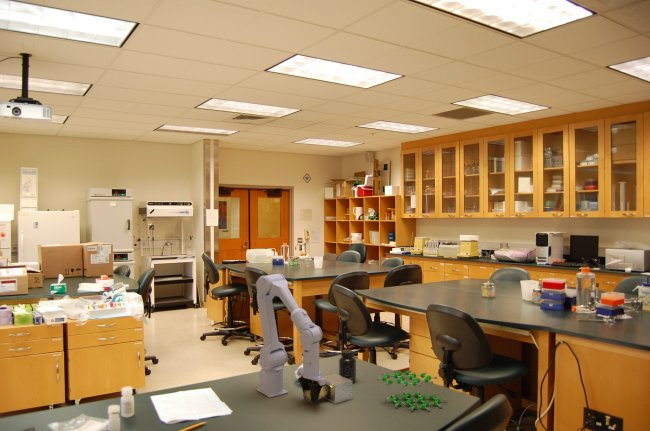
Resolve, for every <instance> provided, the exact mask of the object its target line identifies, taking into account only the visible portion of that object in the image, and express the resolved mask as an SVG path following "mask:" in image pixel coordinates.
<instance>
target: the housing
mask: <svg viewBox="0 0 650 431" xmlns="http://www.w3.org/2000/svg"><path fill="white" fill-rule="evenodd" d="M322 377H323V378H325V379H326V384H325V385H329V386H331V396H329V397H325V398H324V399H325V400H327V401H329V402H331V403H333V404H339V403H342V402H346V401H349V400H352V399H353V383H352V380H349V379H347V378H345V377H342V376H340V375H339V373H332V374H329V375H328V374H327V375H325V376H323V375H322ZM323 386H324V385H323Z"/></svg>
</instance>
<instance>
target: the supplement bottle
mask: <svg viewBox="0 0 650 431" xmlns="http://www.w3.org/2000/svg"><path fill="white" fill-rule="evenodd" d="M340 355H341V356H340V358H339V359H338V375H340V376H342V377H345V378H347V379H349V380H352V384H354V383H355V382H356V381H357V359H356V358H355V357H354V356H355V354H354V350H353V349H352V350H351V349H344V350H341V354H340Z"/></svg>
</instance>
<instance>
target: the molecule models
mask: <svg viewBox="0 0 650 431" xmlns="http://www.w3.org/2000/svg"><path fill="white" fill-rule="evenodd" d="M393 373H394V374H391V375H390V374H389V373H385V372H381V376H382V378H381V377H376V378H375V380H376V381H383V382H384V383H385V382H386V384H385V385H386V386H387V387H388V386H389V385H393V383H397V384H398V385H401V384H402V388H406V387H408V386H409V385H412V386H414V387H416V386H418V387H419V388H421V387H422V383H420V382H424V383H430V384H431V385H433V384H434V381H433V380H432V379H434V380H437V379H438V377H437V375H436V376H432V375H430V374H429V375H427V373H426V372H425V371H424V372H421V373H420V374H417V373H415V372H413V373H412V370H411V369H408V370H406V371H404V372H402V371H401V370H396V369H394V370H393ZM404 375H406V376H404ZM418 376H419V377H418ZM391 377H393V378H394V379H397V380H392V379H389V378H391ZM421 378H422V379H421ZM407 379H408V380H409V381H412V382H408V381H406V380H407ZM402 394H403V395H402V396H398V395H397V394H395V395H394V394H393V393H391V394H390V397H391V399H387V398H385V399H384V402H385V403H387V402H390V403H391V404H394V403H395V404H394V406H395V408H398V407H399V406H401V405H405V406H407V407H409V406H410V410H411V411H413V410H417V408H421V409H422V410H426V411H428V412H430V410H431V408H430V407H428V406H429V405H432V406H434V407H440V408H442V407H443V405H442V404H439V403H441V402H447V398H442V399H441V398H440V397H435V396H436V393H435V392H433V393H432V394H430V395H429V396H426V395H425V394H421V391H420V390H418V391H416V392H415V393H411V392H406V391H404V390H403V391H402ZM411 396H414V397H415V398H417V399H414V398H413V397H411ZM399 399H402V400H404V401H405V402H402V401H401V400H399ZM425 399H430V400H431V401H432V400H434V401H433V402H429V401H428V400H425ZM424 400H425V401H424ZM414 402H418V403H420V404H421V403H422V404H421V405H417V404H416V403H414Z"/></svg>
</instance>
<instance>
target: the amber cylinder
mask: <svg viewBox="0 0 650 431" xmlns="http://www.w3.org/2000/svg"><path fill="white" fill-rule="evenodd" d="M302 393H303V392H302ZM302 396H303V400H304V402H306V403H310V402H311V403H312V400H311V391H310V389H309V390H305V391H304V393H303V395H302ZM329 396H331V386H329V385H324V386H323V387H322V389H321V391H320V394H319V398H318V400H320V399H321V400H322V399H325V397H329Z"/></svg>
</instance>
